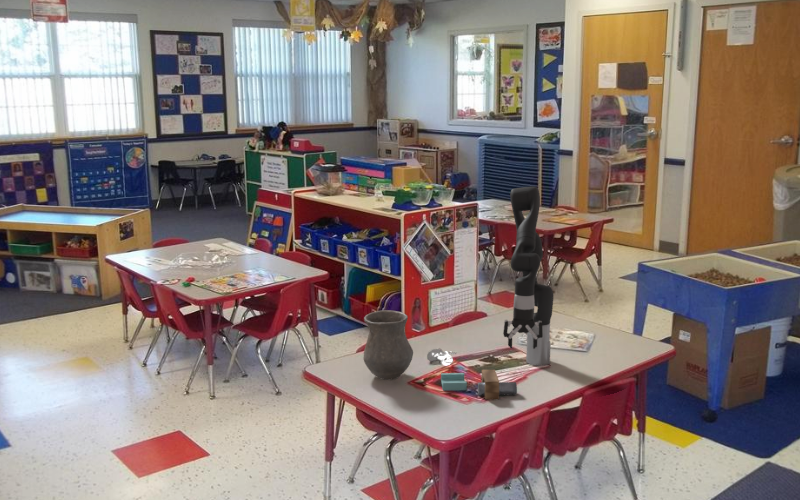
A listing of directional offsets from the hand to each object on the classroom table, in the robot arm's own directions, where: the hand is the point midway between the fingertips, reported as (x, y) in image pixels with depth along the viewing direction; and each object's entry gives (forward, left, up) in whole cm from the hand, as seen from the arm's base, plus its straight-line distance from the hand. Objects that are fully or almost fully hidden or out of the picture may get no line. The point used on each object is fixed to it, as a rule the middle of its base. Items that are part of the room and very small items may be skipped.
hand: (522, 347), depth 288 cm
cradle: (+25, -7, -17) cm, 31 cm away
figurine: (+28, -31, -18) cm, 45 cm away
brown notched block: (+12, +1, -17) cm, 21 cm away
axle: (+9, +2, -18) cm, 20 cm away
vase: (+50, -17, -18) cm, 56 cm away
